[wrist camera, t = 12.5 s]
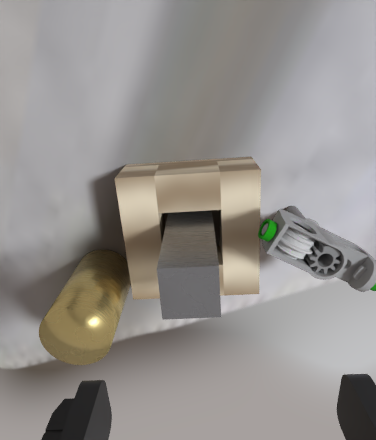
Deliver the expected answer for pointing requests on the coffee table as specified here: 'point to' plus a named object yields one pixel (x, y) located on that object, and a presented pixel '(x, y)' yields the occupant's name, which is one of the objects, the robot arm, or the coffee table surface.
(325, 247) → the mechanical component
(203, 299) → the bar
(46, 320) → the round brass bit
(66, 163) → the coffee table surface
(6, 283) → the coffee table surface
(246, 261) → the socket block
